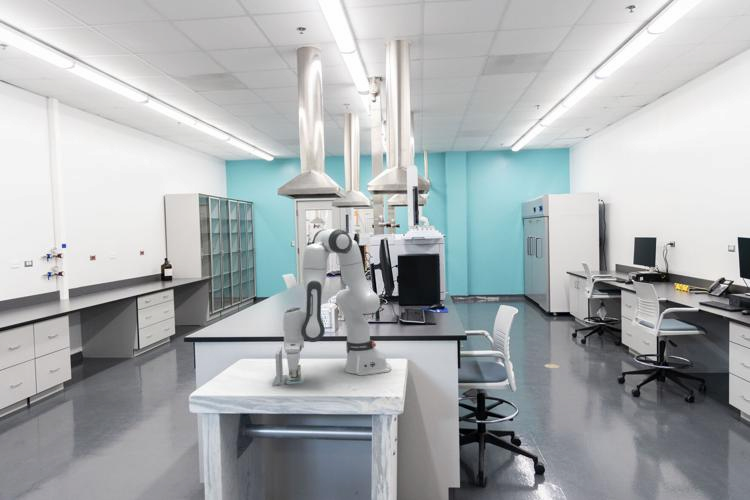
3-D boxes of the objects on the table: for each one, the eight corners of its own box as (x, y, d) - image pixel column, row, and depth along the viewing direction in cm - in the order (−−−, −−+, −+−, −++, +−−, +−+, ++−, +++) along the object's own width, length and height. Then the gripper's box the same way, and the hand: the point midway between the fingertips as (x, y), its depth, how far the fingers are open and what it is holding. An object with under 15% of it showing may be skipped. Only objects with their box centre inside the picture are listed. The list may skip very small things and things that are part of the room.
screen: (286, 376, 212) (285, 347, 212) (284, 385, 200) (282, 354, 200) (275, 377, 212) (274, 347, 211) (272, 385, 200) (271, 354, 199)
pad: (303, 378, 210) (303, 376, 210) (302, 383, 203) (302, 381, 203) (288, 378, 209) (288, 377, 209) (286, 384, 202) (286, 382, 202)
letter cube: (301, 375, 209) (300, 364, 208) (300, 379, 204) (299, 367, 203) (289, 376, 208) (289, 365, 208) (289, 379, 203) (288, 368, 203)
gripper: (289, 339, 215) (290, 367, 216) (284, 350, 195) (285, 382, 195) (302, 338, 216) (303, 367, 216) (299, 349, 195) (300, 381, 196)
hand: (295, 374), depth 206 cm, fingers closed on letter cube, 5 cm apart
